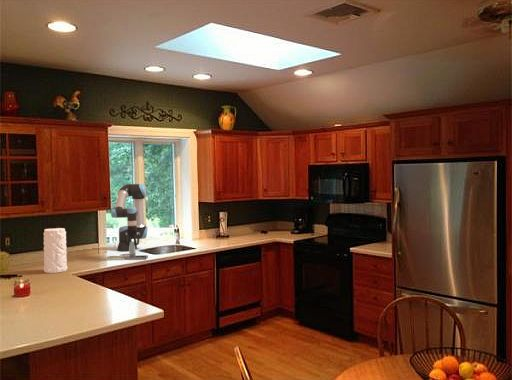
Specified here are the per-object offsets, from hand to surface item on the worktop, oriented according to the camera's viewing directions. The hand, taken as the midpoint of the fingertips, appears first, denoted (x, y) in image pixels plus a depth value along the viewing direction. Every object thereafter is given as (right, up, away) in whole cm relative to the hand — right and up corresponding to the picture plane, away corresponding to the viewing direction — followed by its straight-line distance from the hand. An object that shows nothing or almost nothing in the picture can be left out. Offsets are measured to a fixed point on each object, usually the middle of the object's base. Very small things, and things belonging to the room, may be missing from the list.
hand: (132, 252), depth 381 cm
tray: (-14, -6, 0) cm, 15 cm away
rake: (0, -5, 0) cm, 5 cm away
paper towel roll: (-47, -8, -41) cm, 63 cm away
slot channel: (+3, -6, 0) cm, 7 cm away
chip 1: (-8, -5, 0) cm, 10 cm away
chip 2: (-4, -5, 0) cm, 6 cm away
